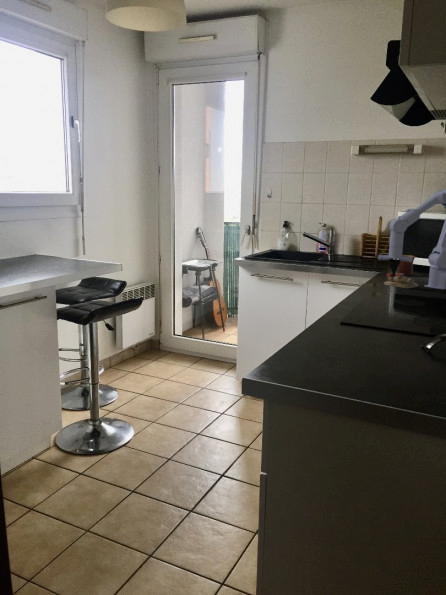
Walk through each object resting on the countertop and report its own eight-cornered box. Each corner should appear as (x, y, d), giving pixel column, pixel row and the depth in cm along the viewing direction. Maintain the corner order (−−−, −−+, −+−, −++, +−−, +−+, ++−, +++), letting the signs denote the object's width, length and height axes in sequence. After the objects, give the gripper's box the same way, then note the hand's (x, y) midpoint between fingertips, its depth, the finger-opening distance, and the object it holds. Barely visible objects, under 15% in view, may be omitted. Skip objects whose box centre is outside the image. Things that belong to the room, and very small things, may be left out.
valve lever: (401, 275, 232) (402, 272, 232) (404, 276, 231) (405, 273, 230) (386, 276, 229) (386, 273, 229) (389, 277, 227) (389, 274, 227)
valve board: (418, 286, 230) (418, 277, 229) (407, 288, 225) (408, 279, 224) (394, 282, 239) (395, 274, 238) (384, 284, 234) (384, 275, 233)
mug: (417, 276, 261) (418, 256, 258) (404, 277, 257) (406, 257, 255) (400, 272, 271) (401, 254, 269) (387, 273, 268) (389, 254, 266)
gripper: (414, 246, 224) (411, 276, 227) (381, 244, 231) (378, 273, 234) (412, 248, 218) (409, 278, 221) (378, 246, 225) (375, 275, 227)
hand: (393, 276), depth 227 cm, fingers closed, pressing on valve lever
